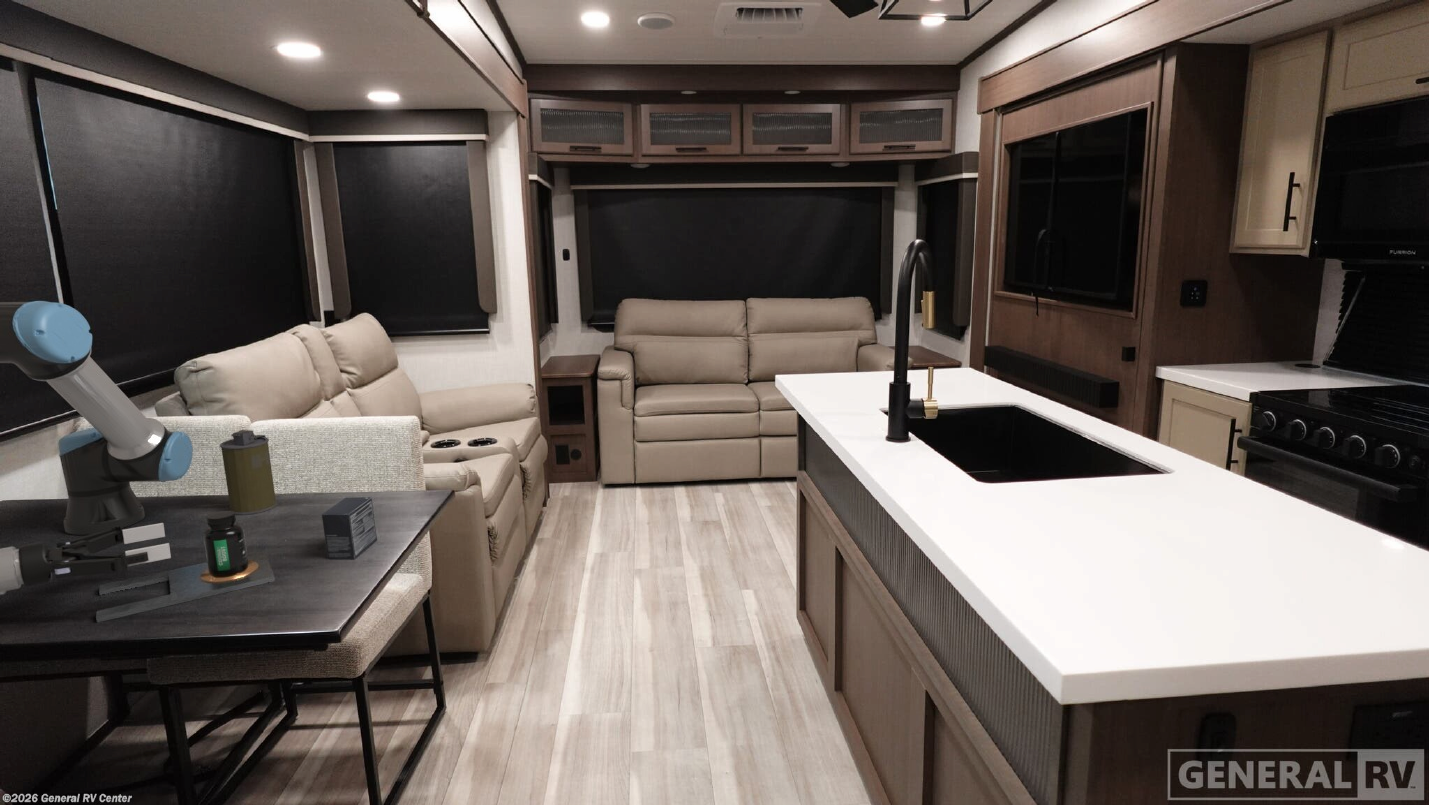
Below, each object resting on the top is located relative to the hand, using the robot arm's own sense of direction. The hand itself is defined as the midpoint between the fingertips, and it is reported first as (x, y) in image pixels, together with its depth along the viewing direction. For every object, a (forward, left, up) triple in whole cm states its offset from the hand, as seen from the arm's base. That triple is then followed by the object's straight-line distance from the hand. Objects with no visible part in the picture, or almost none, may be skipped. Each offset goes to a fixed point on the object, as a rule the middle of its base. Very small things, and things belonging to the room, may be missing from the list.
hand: (167, 539), depth 148 cm
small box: (+24, +21, -10) cm, 34 cm away
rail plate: (+2, +1, -10) cm, 10 cm away
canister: (-16, +43, -10) cm, 47 cm away
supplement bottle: (+7, +6, -9) cm, 13 cm away
